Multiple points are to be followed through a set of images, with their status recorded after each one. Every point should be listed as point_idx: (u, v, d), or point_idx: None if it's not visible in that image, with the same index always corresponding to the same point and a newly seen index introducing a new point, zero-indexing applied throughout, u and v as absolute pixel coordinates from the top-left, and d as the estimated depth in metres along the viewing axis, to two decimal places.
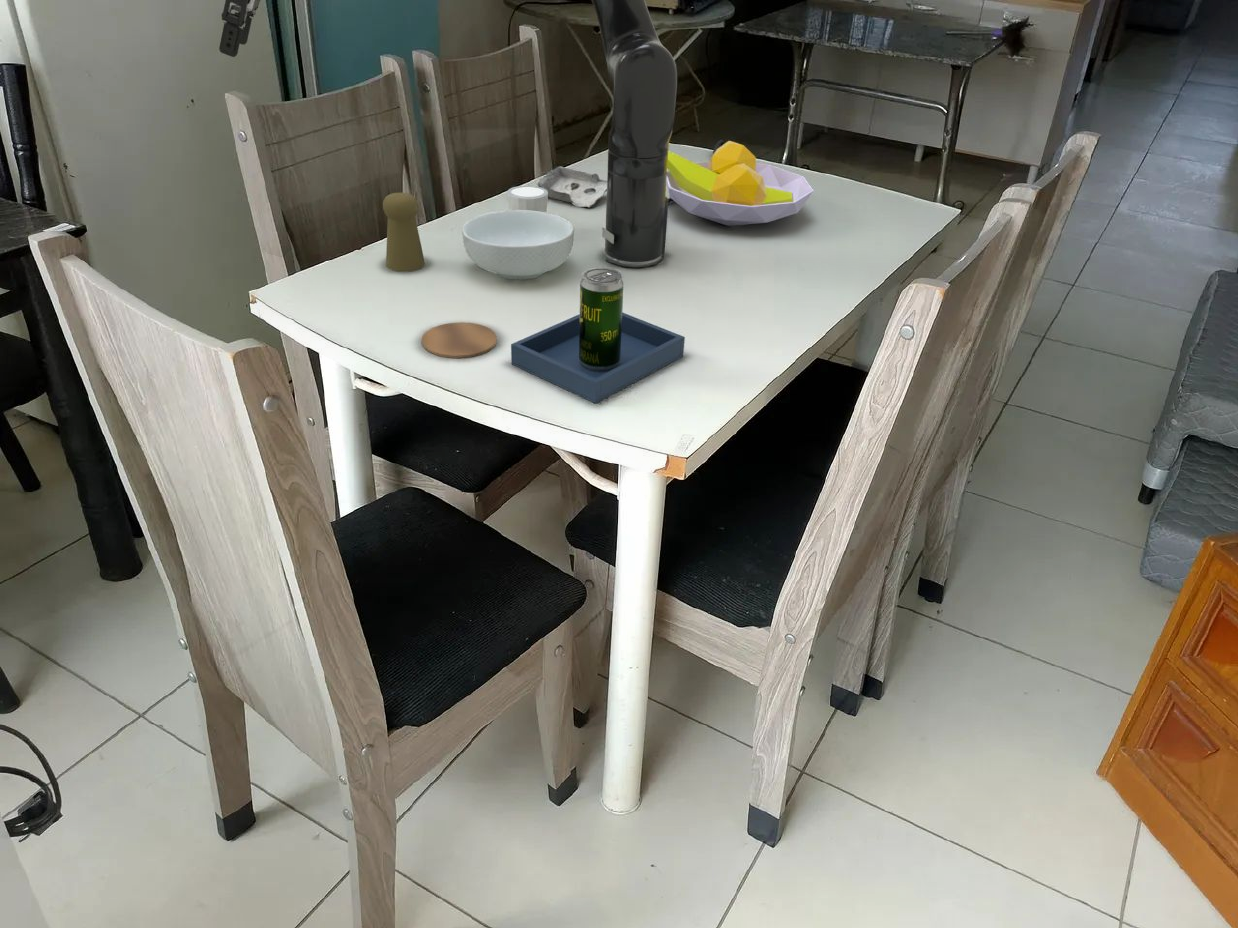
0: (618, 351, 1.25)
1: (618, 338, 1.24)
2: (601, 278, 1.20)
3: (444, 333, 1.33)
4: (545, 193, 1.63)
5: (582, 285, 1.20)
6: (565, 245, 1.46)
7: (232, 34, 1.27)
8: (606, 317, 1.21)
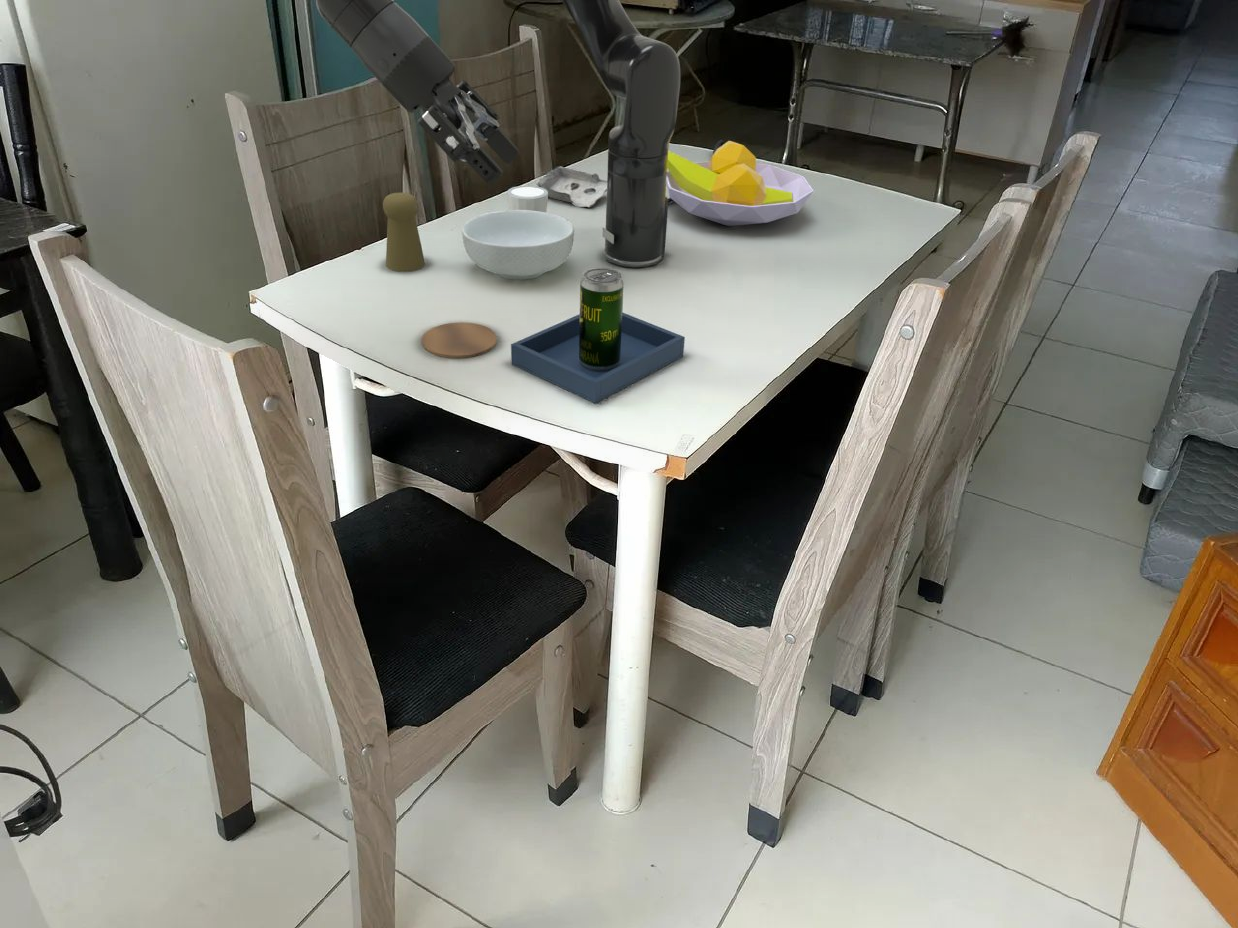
0: (618, 351, 1.25)
1: (618, 338, 1.24)
2: (601, 278, 1.20)
3: (444, 333, 1.33)
4: (545, 193, 1.63)
5: (582, 285, 1.20)
6: (565, 245, 1.46)
7: (478, 161, 1.09)
8: (606, 317, 1.21)
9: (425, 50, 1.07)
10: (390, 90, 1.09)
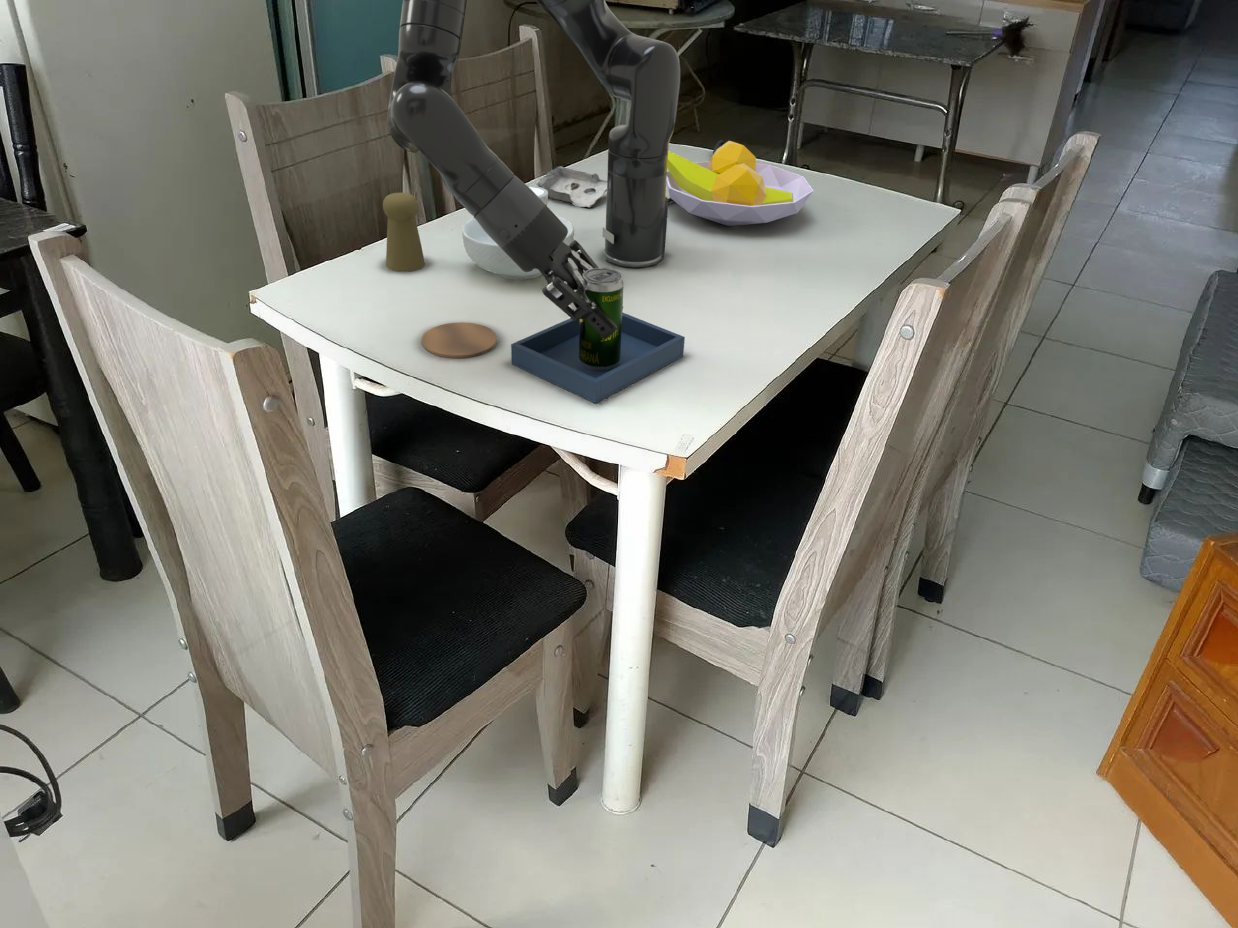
0: (618, 351, 1.25)
1: (618, 338, 1.24)
2: (601, 278, 1.20)
3: (444, 333, 1.33)
4: (545, 193, 1.63)
5: None
6: None
7: (595, 319, 1.20)
8: None
9: (543, 220, 1.16)
10: (509, 254, 1.18)
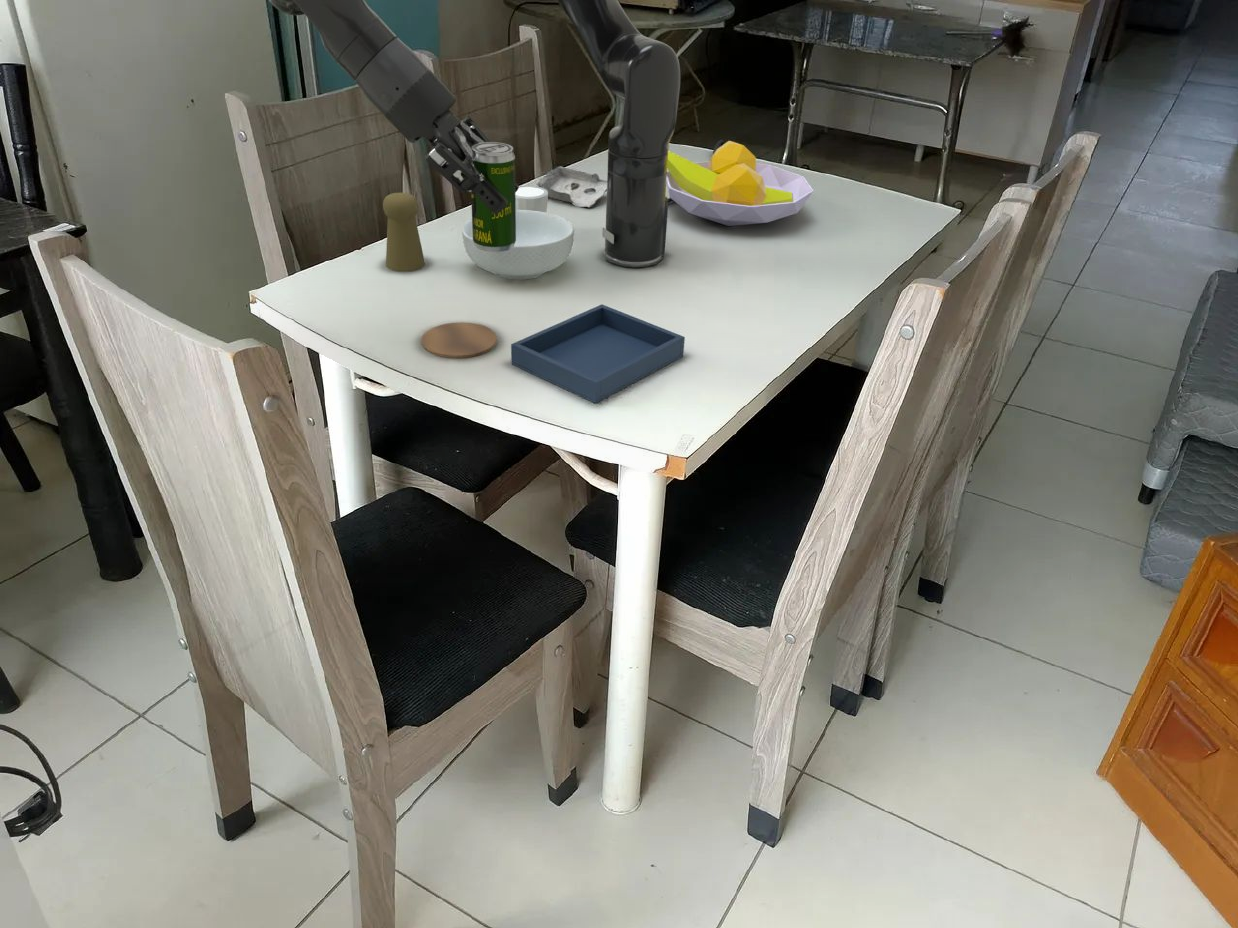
0: (512, 231, 1.20)
1: (511, 217, 1.19)
2: (491, 150, 1.15)
3: (444, 333, 1.33)
4: (545, 193, 1.63)
5: None
6: (565, 245, 1.46)
7: (484, 192, 1.15)
8: None
9: (427, 84, 1.11)
10: (392, 122, 1.13)
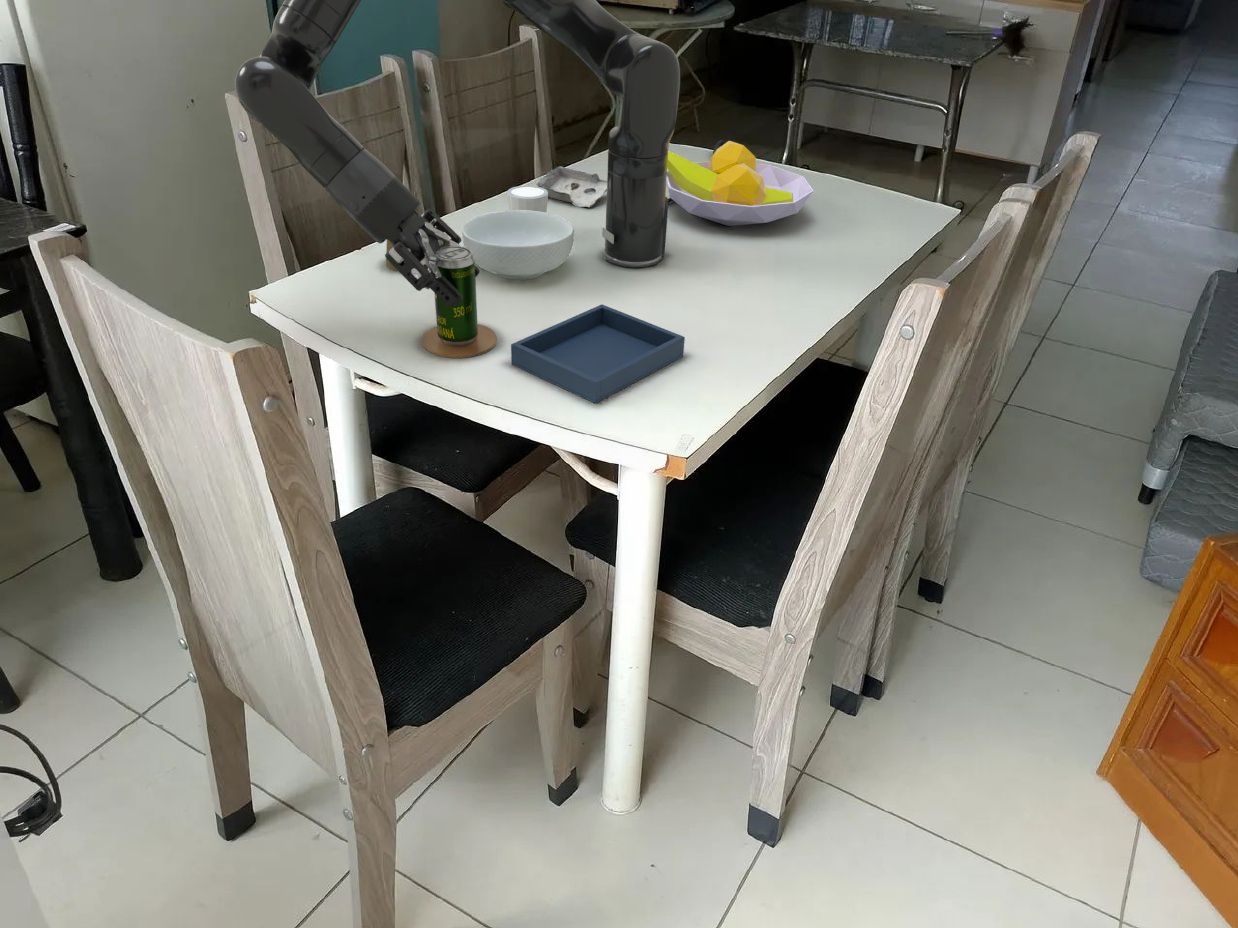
0: (474, 327, 1.29)
1: (472, 314, 1.28)
2: (452, 255, 1.24)
3: None
4: (545, 193, 1.63)
5: None
6: (565, 245, 1.46)
7: (440, 288, 1.22)
8: None
9: (391, 192, 1.20)
10: (361, 225, 1.22)
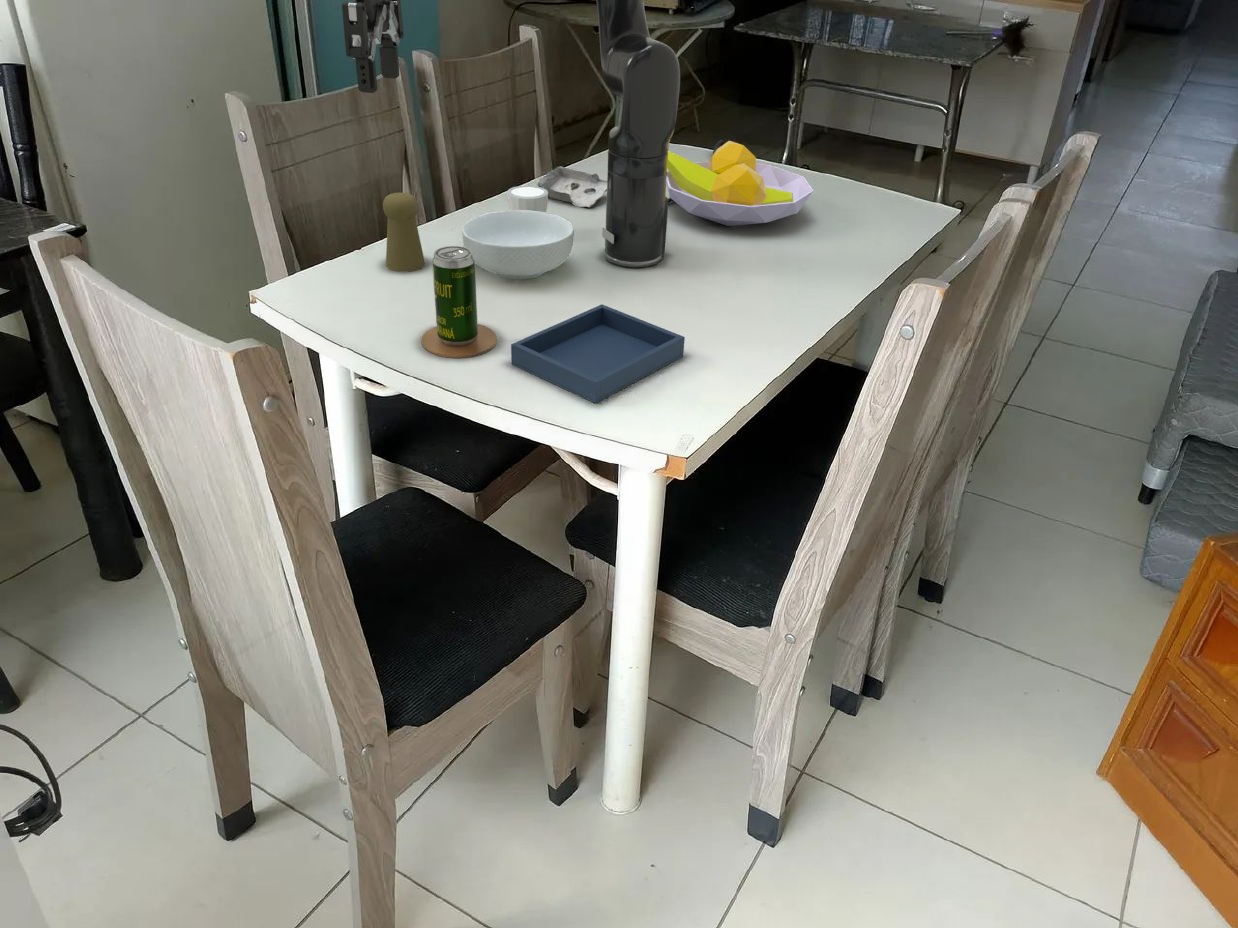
0: (474, 327, 1.29)
1: (472, 314, 1.28)
2: (452, 255, 1.24)
3: None
4: (545, 193, 1.63)
5: (433, 262, 1.24)
6: (565, 245, 1.46)
7: (364, 68, 1.18)
8: (457, 293, 1.25)
9: None
10: None
